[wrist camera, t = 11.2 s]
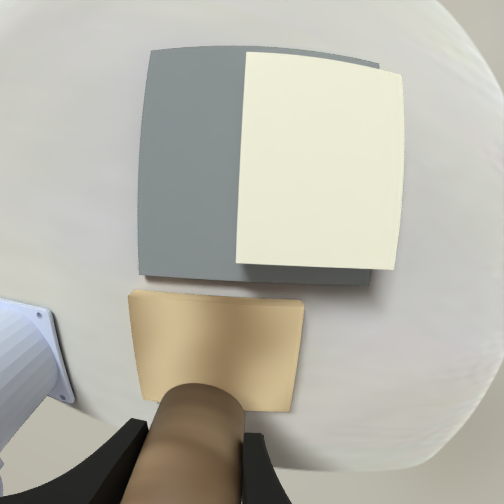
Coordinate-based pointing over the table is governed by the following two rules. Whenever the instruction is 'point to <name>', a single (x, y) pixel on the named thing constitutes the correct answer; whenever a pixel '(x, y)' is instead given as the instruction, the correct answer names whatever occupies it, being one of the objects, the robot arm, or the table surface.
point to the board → (217, 345)
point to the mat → (204, 169)
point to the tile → (319, 163)
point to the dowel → (191, 450)
